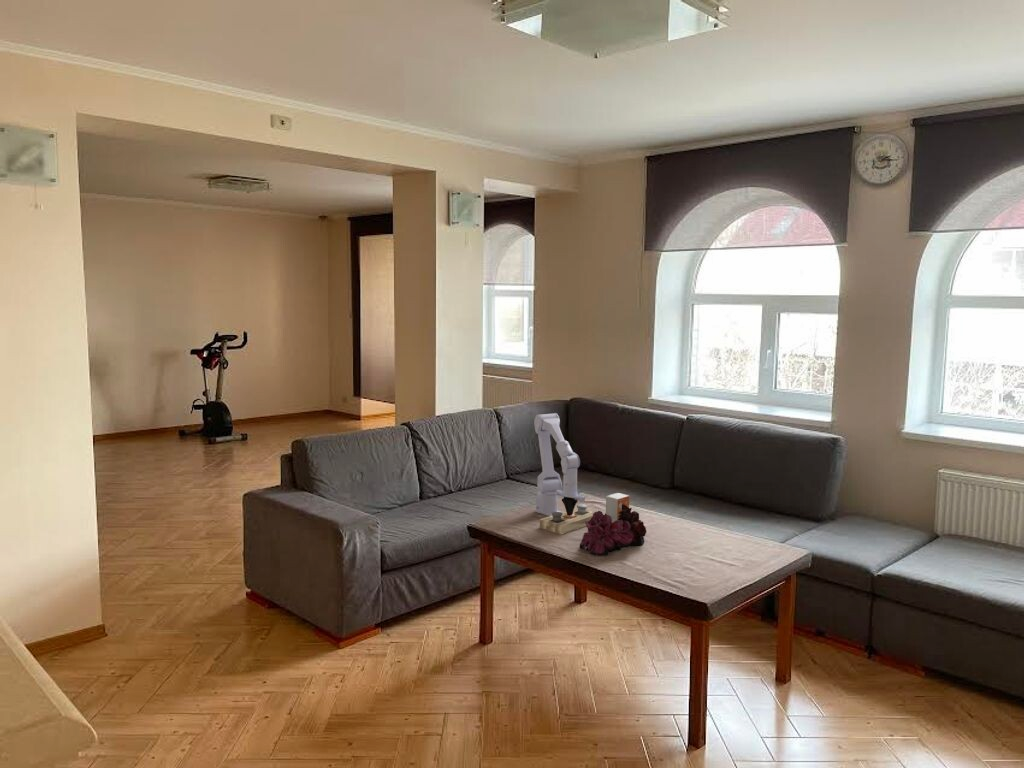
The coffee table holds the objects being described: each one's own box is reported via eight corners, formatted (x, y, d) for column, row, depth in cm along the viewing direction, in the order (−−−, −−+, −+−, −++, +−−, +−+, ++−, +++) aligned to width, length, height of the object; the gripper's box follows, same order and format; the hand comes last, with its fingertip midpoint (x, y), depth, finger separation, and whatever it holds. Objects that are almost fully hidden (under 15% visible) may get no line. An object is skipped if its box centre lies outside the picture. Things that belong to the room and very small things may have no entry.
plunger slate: (574, 513, 317) (574, 505, 316) (581, 511, 320) (581, 503, 320) (582, 515, 314) (582, 507, 313) (589, 513, 317) (589, 505, 316)
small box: (616, 529, 305) (617, 499, 303) (604, 526, 310) (605, 495, 308) (629, 525, 311) (629, 495, 309) (617, 522, 315) (617, 492, 314)
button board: (539, 527, 308) (539, 519, 307) (577, 515, 324) (577, 507, 324) (561, 534, 299) (561, 526, 299) (598, 521, 316) (598, 513, 315)
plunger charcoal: (549, 521, 306) (549, 513, 305) (556, 519, 309) (556, 511, 308) (557, 524, 303) (557, 515, 302) (564, 521, 306) (564, 513, 305)
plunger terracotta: (562, 522, 312) (562, 514, 311) (569, 520, 315) (569, 512, 314) (570, 525, 308) (570, 516, 308) (576, 522, 312) (577, 514, 311)
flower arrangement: (614, 530, 305) (615, 495, 303) (657, 541, 292) (658, 504, 290) (570, 550, 281) (570, 512, 279) (614, 563, 269) (615, 523, 267)
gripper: (589, 484, 307) (589, 516, 309) (563, 478, 317) (563, 509, 319) (578, 488, 302) (578, 520, 304) (552, 481, 312) (552, 512, 314)
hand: (569, 514), depth 311 cm, fingers closed, pressing on plunger terracotta
